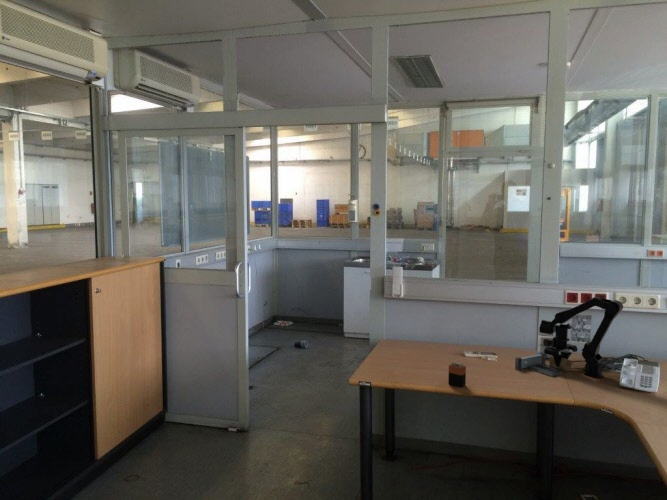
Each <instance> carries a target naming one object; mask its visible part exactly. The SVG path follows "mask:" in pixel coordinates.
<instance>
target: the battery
mask: <svg viewBox="0 0 667 500" xmlns="http://www.w3.org/2000/svg"><path fill="white" fill-rule="evenodd" d="M466 371H467V366H466V365H463V364H460V363H459V364H458V363H457V362H451V363H450V364H449V365H448V380H447V381H448V385H451V386H454V387H458V388H463V387H464V386H466V379H467V377H466V376H467V372H466Z"/></svg>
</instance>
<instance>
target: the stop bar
mask: <svg viewBox="0 0 667 500" xmlns="http://www.w3.org/2000/svg"><path fill="white" fill-rule="evenodd" d="M549 367H552V368H555V369H558V370H561V371H563V372H569V371H572V360H570V359H569V358H568V359H564V358H562V359H561V362H560V365H559V367H557V366H556V363H555V360H554V358H553V356H550V358H549Z"/></svg>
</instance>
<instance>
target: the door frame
mask: <svg viewBox="0 0 667 500" xmlns="http://www.w3.org/2000/svg"><path fill="white" fill-rule="evenodd" d="M540 354H541V355H542V365H545V366H546V361H547V358H546V354H545V353H543V352H542V353H540ZM521 358H522V357H519V356H516V357H515V360H514V361H515V362H514V364H515V366H514V370H517V371H520V370H522V369H521Z"/></svg>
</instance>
